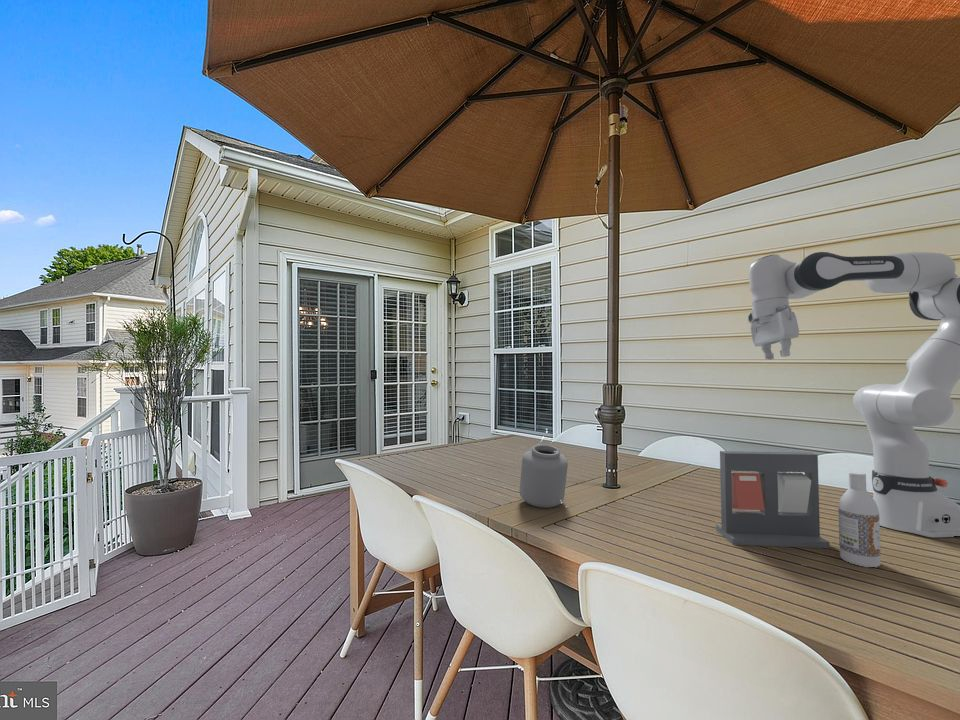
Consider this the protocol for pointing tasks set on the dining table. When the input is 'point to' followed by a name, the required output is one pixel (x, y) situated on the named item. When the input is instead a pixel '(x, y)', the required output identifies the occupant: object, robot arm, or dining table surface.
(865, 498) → the bath foam
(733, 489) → the red rocker
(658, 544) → the dining table surface
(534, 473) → the jar
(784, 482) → the grey rocker
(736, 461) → the switch panel
